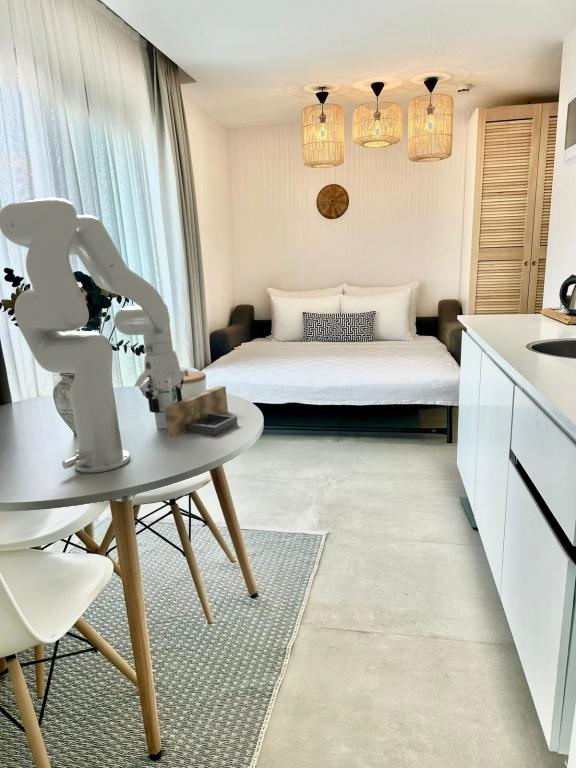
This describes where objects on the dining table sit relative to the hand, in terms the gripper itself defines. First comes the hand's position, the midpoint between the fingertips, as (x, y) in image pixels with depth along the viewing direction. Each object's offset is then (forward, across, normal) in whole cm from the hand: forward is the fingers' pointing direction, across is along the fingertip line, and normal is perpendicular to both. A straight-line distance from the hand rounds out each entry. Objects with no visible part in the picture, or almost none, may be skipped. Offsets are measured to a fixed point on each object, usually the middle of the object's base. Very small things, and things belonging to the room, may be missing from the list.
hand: (166, 407), depth 150 cm
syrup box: (+6, 0, 0) cm, 6 cm away
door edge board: (+5, +5, -8) cm, 10 cm away
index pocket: (+5, +2, -14) cm, 16 cm away
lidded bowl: (+6, +22, +11) cm, 25 cm away
